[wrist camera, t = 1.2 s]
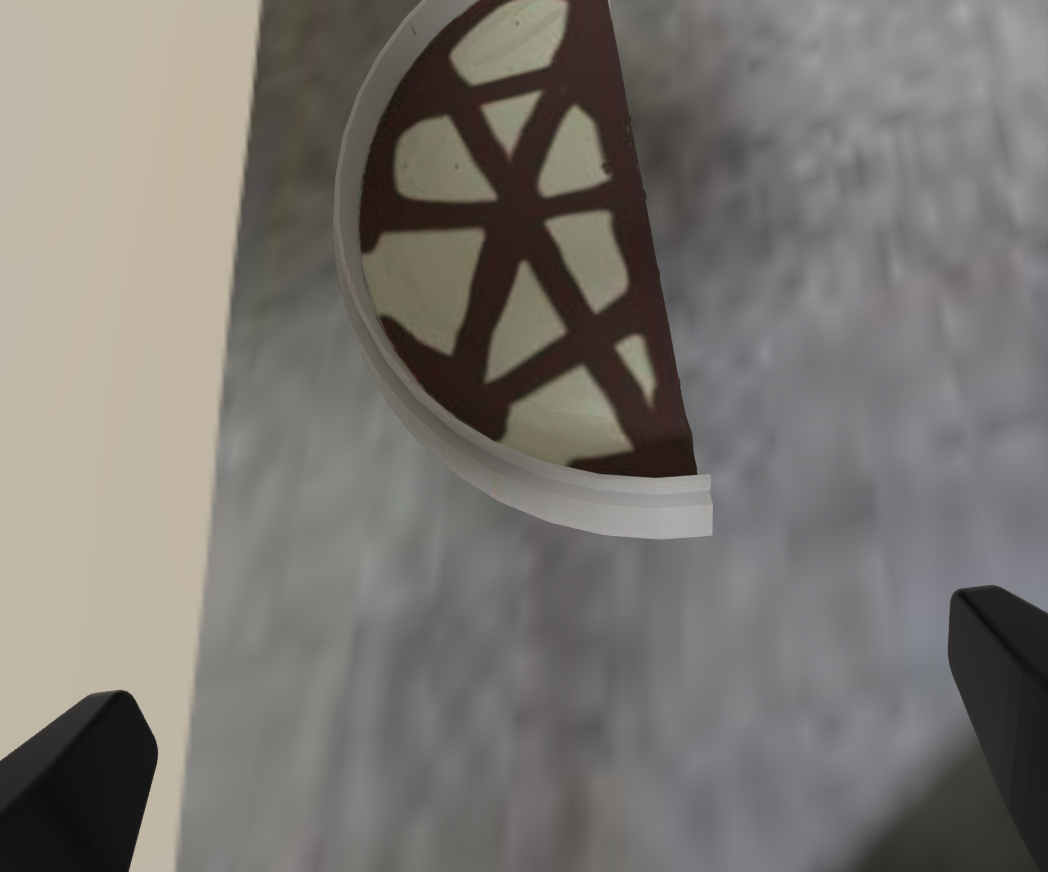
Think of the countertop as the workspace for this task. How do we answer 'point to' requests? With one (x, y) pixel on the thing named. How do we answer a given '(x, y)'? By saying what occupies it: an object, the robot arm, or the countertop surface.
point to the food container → (516, 266)
